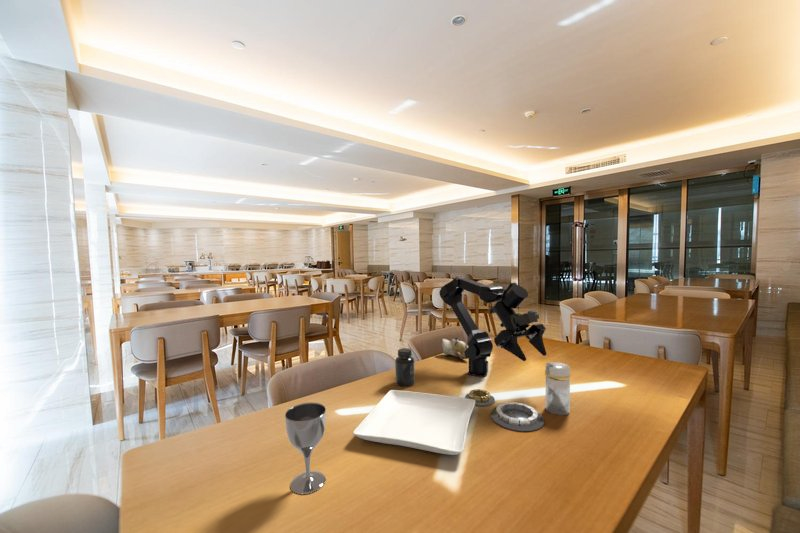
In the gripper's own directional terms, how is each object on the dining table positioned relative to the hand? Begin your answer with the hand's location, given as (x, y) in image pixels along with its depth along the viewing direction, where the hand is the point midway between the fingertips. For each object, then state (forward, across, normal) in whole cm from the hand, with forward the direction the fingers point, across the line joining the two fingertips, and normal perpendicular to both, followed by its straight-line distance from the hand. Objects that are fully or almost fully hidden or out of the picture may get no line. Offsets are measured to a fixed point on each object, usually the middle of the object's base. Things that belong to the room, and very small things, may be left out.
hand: (535, 357), depth 104 cm
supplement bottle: (-14, -28, +32) cm, 45 cm away
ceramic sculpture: (-23, +6, +42) cm, 48 cm away
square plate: (+6, -39, +14) cm, 42 cm away
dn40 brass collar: (+3, -15, +16) cm, 22 cm away
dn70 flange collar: (+13, -14, +6) cm, 20 cm away
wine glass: (+10, -71, +9) cm, 72 cm away
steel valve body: (+15, 0, +4) cm, 15 cm away
